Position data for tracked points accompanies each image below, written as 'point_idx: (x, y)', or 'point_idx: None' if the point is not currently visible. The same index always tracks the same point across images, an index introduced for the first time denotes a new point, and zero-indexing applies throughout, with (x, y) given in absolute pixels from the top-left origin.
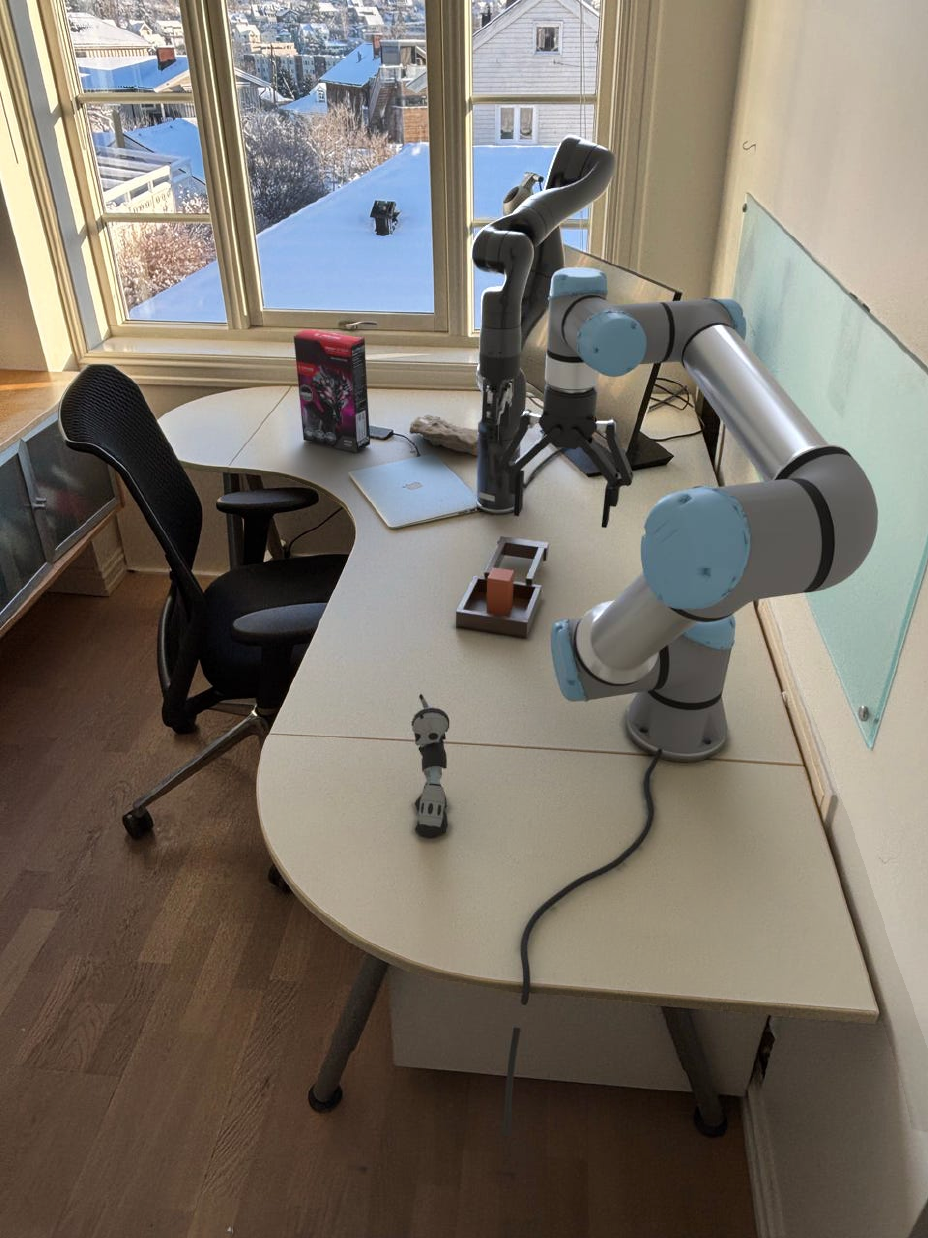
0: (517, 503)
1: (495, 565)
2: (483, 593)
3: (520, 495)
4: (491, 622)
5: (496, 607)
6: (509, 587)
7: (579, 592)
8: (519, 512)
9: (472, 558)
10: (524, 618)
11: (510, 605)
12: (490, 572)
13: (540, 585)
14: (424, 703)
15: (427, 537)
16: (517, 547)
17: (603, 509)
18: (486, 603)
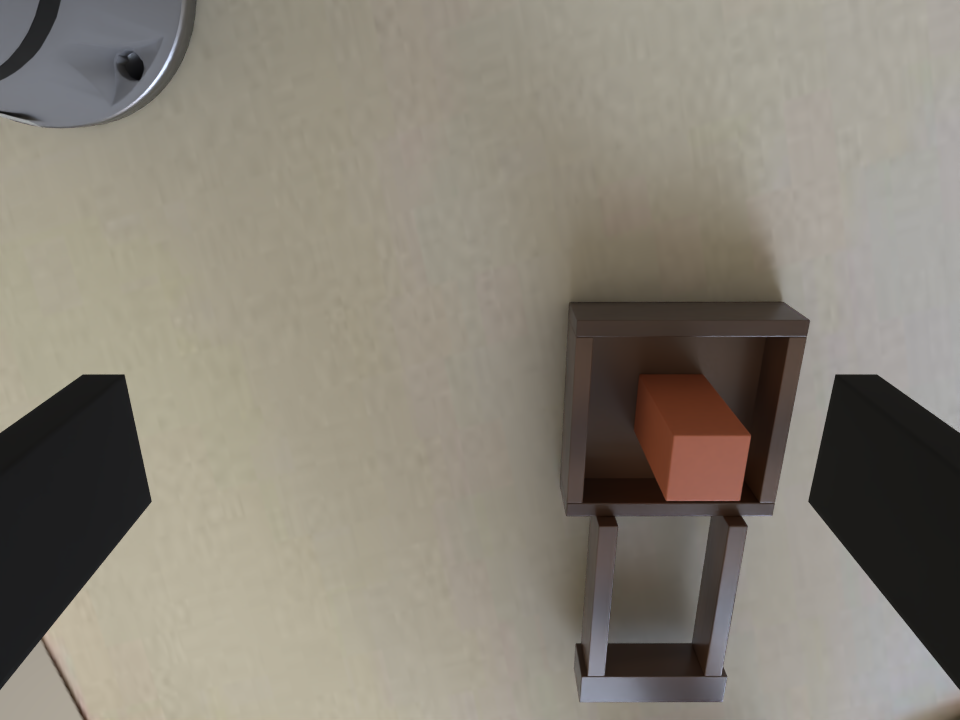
0: (925, 429)
1: (716, 573)
2: None
3: (941, 509)
4: (686, 313)
5: (682, 387)
6: (664, 429)
7: (464, 547)
8: (840, 411)
9: (774, 623)
10: (589, 339)
11: (641, 415)
12: (744, 469)
13: (569, 514)
14: None
15: (908, 682)
16: (664, 667)
17: (12, 458)
18: None
